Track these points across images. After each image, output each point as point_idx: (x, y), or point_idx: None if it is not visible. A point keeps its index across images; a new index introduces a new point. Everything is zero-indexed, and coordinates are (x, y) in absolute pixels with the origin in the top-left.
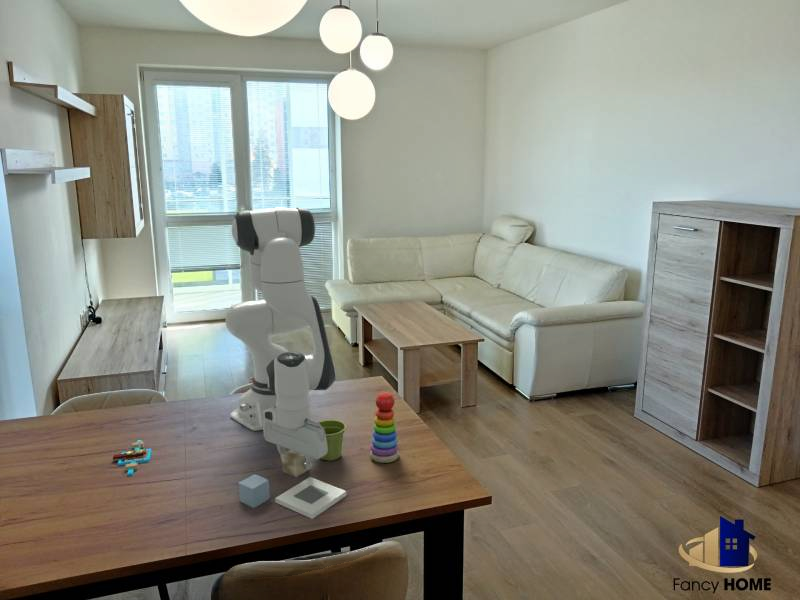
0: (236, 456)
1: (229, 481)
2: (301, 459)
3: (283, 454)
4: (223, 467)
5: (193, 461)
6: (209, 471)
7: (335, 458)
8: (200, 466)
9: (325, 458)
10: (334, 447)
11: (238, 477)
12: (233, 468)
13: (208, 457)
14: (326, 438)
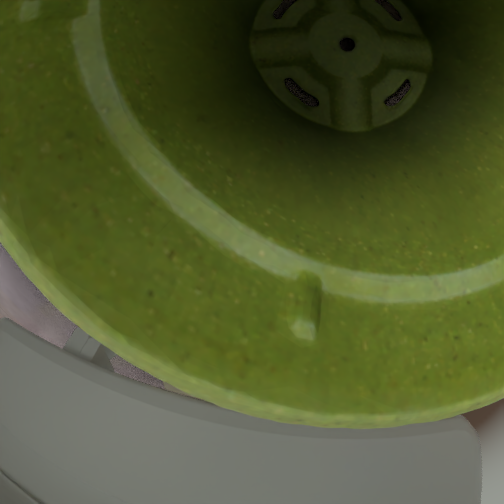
0: (15, 268)
1: (123, 371)
2: None
3: (173, 390)
4: (52, 323)
5: (9, 311)
6: (56, 340)
7: (423, 101)
8: (30, 325)
9: (362, 137)
10: (485, 147)
11: (118, 357)
12: (67, 324)
13: (2, 290)
14: (493, 310)
